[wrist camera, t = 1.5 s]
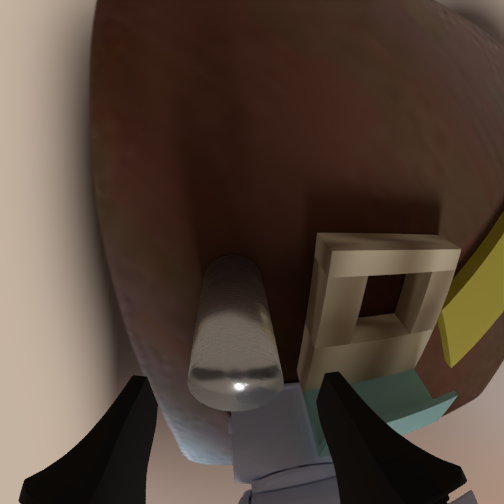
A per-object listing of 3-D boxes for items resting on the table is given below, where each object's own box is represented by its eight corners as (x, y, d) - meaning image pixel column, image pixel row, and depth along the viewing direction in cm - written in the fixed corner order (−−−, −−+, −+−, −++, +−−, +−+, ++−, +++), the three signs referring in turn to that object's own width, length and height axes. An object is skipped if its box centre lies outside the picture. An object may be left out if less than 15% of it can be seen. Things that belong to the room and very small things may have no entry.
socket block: (296, 370, 23) (303, 395, 20) (317, 232, 18) (332, 250, 15) (398, 354, 23) (410, 374, 21) (438, 234, 18) (461, 249, 16)
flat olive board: (528, 159, 16) (412, 315, 22) (541, 163, 14) (423, 329, 20) (541, 228, 20) (442, 357, 26) (551, 234, 18) (451, 368, 24)
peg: (205, 305, 19) (194, 410, 11) (201, 255, 18) (180, 353, 9) (261, 305, 19) (279, 409, 11) (263, 254, 18) (288, 352, 10)
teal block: (303, 395, 20) (318, 457, 14) (309, 369, 19) (330, 436, 13) (410, 374, 21) (437, 420, 15) (424, 348, 19) (457, 395, 14)
